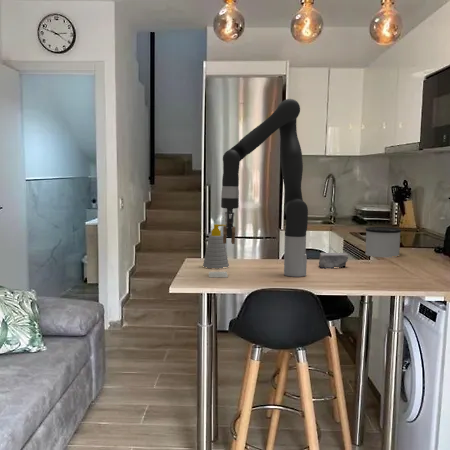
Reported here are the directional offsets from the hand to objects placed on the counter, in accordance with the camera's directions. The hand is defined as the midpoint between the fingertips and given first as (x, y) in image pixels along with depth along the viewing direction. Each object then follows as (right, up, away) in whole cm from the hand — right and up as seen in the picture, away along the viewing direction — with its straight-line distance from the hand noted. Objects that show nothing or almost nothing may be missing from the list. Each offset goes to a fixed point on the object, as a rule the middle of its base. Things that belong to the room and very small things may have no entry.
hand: (229, 236), depth 205 cm
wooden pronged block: (0, -3, 0) cm, 3 cm away
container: (+87, -12, +64) cm, 109 cm away
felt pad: (-5, -17, +1) cm, 18 cm away
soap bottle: (-6, -15, +21) cm, 27 cm away
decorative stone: (+49, -16, +23) cm, 57 cm away
